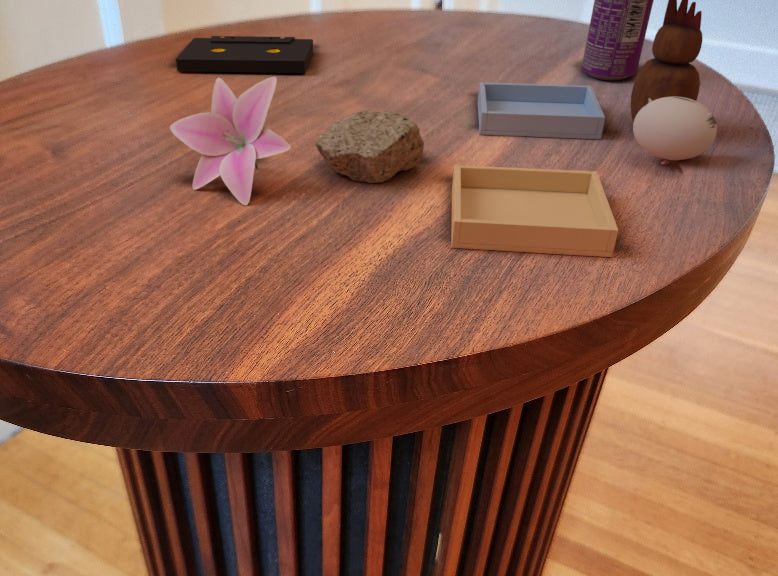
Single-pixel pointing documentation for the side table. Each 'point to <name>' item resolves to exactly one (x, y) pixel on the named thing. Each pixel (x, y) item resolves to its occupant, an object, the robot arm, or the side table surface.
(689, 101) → the beige smooth oval piece
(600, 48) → the beverage can
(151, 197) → the side table surface
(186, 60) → the cassette tape
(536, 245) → the birch tray
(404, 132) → the rock
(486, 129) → the blue tray
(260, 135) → the lily
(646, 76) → the wooden figurine
